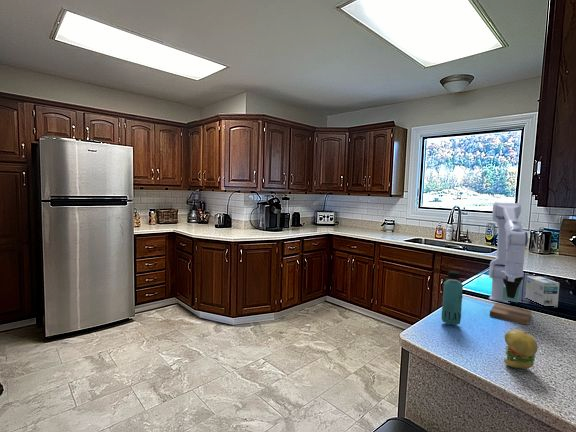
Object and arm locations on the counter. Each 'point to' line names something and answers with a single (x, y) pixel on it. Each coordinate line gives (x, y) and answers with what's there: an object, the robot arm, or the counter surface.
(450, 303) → the beverage bottle
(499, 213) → the robot arm
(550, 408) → the counter surface
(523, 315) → the walnut base
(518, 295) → the teal cube
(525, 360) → the hamburger
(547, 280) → the light bulb box
